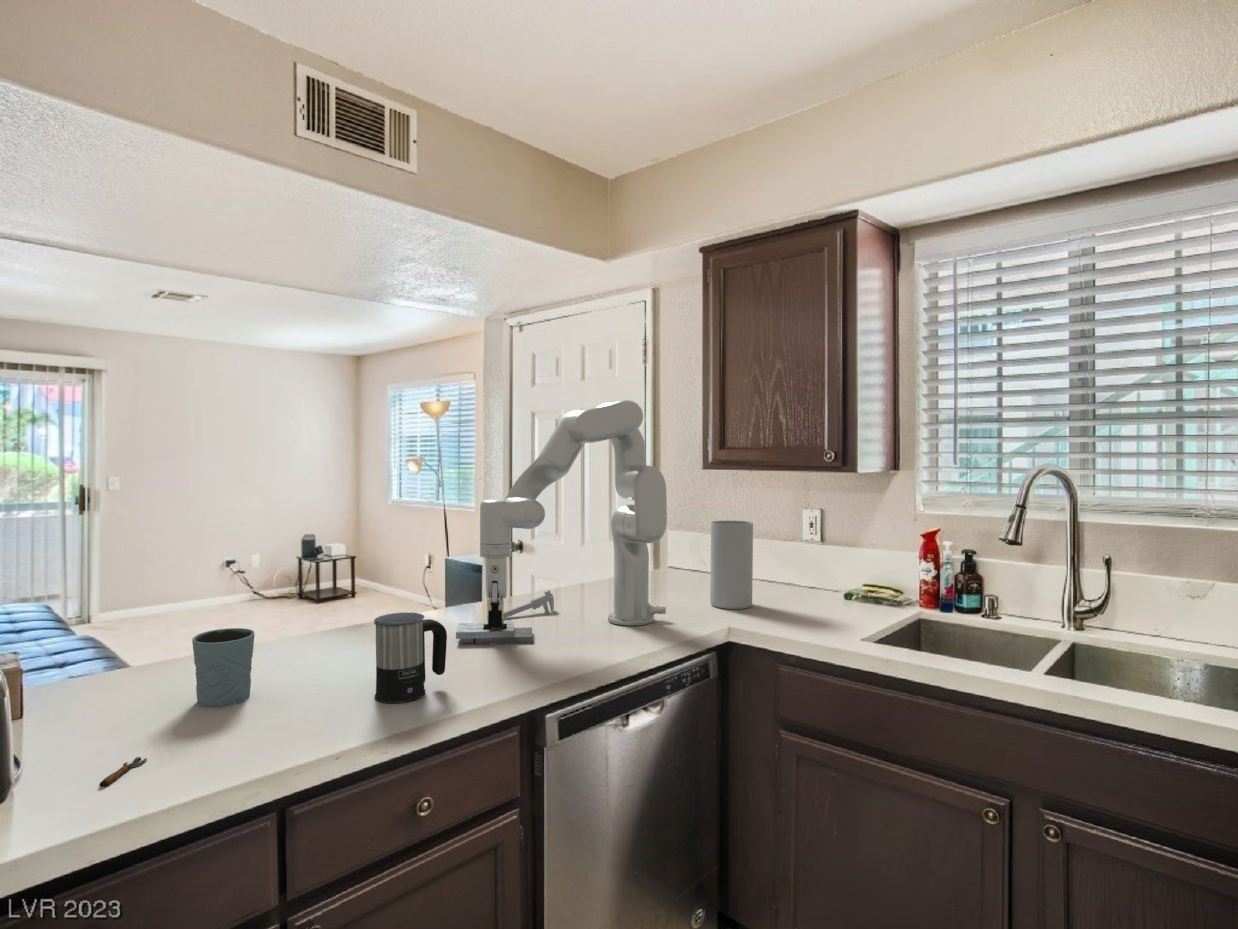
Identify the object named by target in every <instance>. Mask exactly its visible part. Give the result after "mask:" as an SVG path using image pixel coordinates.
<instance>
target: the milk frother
mask: <svg viewBox="0 0 1238 929" xmlns="http://www.w3.org/2000/svg"><path fill="white" fill-rule="evenodd" d="M373 623H374V625H375V664H376V665H375V671H376V673H375V674H376V676H375V677H376V678H375V694H374V699H375V700H376V701H377V702H380V703H385V704H402V703H407V702H412V701H415V700H417V699H421V698H422V697H423V696H425V694H426V689H425V683H426V658H425V657H426V656H425V655H426V652H425V651H426V649H425V646H426V643H425V642H426V641H425V640H426V639H425V632H432V659H431V663H432V664H431V669H432V672H433V673H434V674H435V675H438V676H441V675H443V674H444V673H445V672H446V658H447V643H448V635H447V634H448V633H447V629H446V627H445V626H444V625H443V624H442V623H441V622H439V621H438V620H434V619H425V615H423V614H422V613H418V612H394V613H387V614H384V615H380V616H377V617H375V618H374V620H373Z"/></svg>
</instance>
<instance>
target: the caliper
mask: <svg viewBox="0 0 1238 929" xmlns="http://www.w3.org/2000/svg"><path fill="white" fill-rule="evenodd" d="M541 607H543V610H544V611H545V612H547V611H548V612H549V611H552V610H553V611H554V610H555V599H554V595H553V593H551V590H550V589H547V591H546V590H545V591H544V595H540V596H539V597H536V598H534V599H531V600H530V601H529V602H527V603H524V604H521V605H518V606H516V607H514V608H511V609H508V610H505V611H504V619H506V618H509V617H512V616H514V615H517V614H520V613H523V612H525V611H528V610H530V609H532V610H536V609H540V608H541ZM549 609H551V610H549Z"/></svg>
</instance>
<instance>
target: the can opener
mask: <svg viewBox="0 0 1238 929" xmlns="http://www.w3.org/2000/svg"><path fill="white" fill-rule="evenodd" d="M147 761H148V760H147V757H145V758H144V759H142V757H140V756H137V757H135V758H134V759H133V761H132V762H130V763H129V762H127V761H126V762H124V763H123V764H122V766H121V767H120V768H118V770H116V771H115V772H112V773H110V774H109V775H108V776H107V777H105V778H103V779H102V780H101V782H99V788H107V787H109V786H110V785H112V784H114V782H116V781H117V780H118V779H120V777H122V776H124V775H125V774H126V773H128V772H129V771H130V769H131V768H138V767H141V766H143V765H144V764H145V763H147ZM137 762H138V763H137ZM128 763H129V764H128Z"/></svg>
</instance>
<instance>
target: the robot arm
mask: <svg viewBox="0 0 1238 929" xmlns="http://www.w3.org/2000/svg"><path fill="white" fill-rule="evenodd" d="M643 420H644V412H643V409H642V408H641V406H640V405H639V404H638V403H637V402H635V401H632V400H629V399H626V400H624V399H623V400H617V401H616V400H615V401H614V400H613V401H607V402H603V403H601V404H599V405H598V406H596V407H595V408H588V409H586V408H585V409H577V410H571V411H569V412H567V413H565V414H564V415H563V416H562V417H561V419H560V420H559V422H558V424H557V425H556V426H555V429H554V430H553V432H552V434H551V435H550V438H549V439H548V440H547V442H546V444H545V445H544V447H543V448H542V450H541V452H540V454H539V455H538V456H537V458H536V459H534V461H532V462H531V464H530V465H529V466H528V467H527V468H526V469H525V470H524V471H523V472H522V473H521V475H520V476H519V477H518V478H517V479H516V481H515V482H514V483H513V484H512V487H511V488H510V490H509V491H508V493H507V495H506V496H505V498H504V499H502V498H501V499H500V498H499V499H497V498H496V499H495V498H494V499H493V498H492V499H491V498H490V499H486V500H483V501H482V502H480V506H479V557H481V558H484V577H485V578H484V580H485V581H484V582H485V595H486V599H487V598H488V599H489V611H488V626H489V627H501V626H502V610H501V597H504V599H506V598H507V597H508V558H509V557H511V556H512V528H513V529H514V528H515V529H524V530H531V529H535V528H537V527H539V526H541V525H542V524H543V522H544V520H545V517H546V511H545V508H544V506H543V504H542V503H540V502H539V501H538V500H537V499H538V497H539V495H541V494H542V492H543V491H544V490H545V489H546V488H548V487H549V486H551V485H552V484H553V483H556V482H557V481H559V480H561V479H562V478H564V477H565V476H566V475H567V474H568V472H570V470H571V468H572V466H573V465H574V462H575V461H576V459H577V457H578V456H579V454H580V453H581V450H582V449H583V447H584V446H585V444H592V443H598V442H601V441H602V442H603V441H607V440H610V441H611V443H612V447H613V451H614V452H613V454H614V486H615V490H616V493H617V495H618V496H620V498H622V499H625V500H629V501H633V502H634V504H625V505H622V506H619V507H618V508H616V509H615V511H614V512H613V514H612V516H611V521H610V527H611V528H610V529H611V535H612V540H613V557H614V558H613V612H612V613H609V614H608V616H607V620H608V621H607V622H610V623H611V624H614V625H620V626H630V627H631V626H634V627H635V626H643V625H645V626H646V625H649V624H652V623H654V621H655V615H657V614H658V615H666V614H667V608H666V606H660V605H652V604H651V603H650V602H649V599H650V598H649V594H650V593H649V588H650V586H649V585H650V584H649V583H650V582H649V578H650V575H649V574H650V571H649V570H650V566H649V565H650V553H649V548H648V544H655V543H657V542H659V541H661V539H662V538H663V537H664V535H665V532H666V529H667V522H668V518H667V517H668V516H667V515H668V512H667V511H668V510H667V509H668V508H667V507H668V506H667V505H668V504H667V498H668V497H667V483H666V480H665V477H664V475H663V473H662V472H661V470H659V469H658V468H656V467H654V466H653V465H647V464H648V463H647V454H646V450H647V449H646V443H645V440H644V436H643V434H642V432H641V430H640V429H639V428H640V427H641V425H642V423H643ZM491 595H492V598H491ZM497 595H499V598H497ZM497 600H499V602H498V601H497Z"/></svg>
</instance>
